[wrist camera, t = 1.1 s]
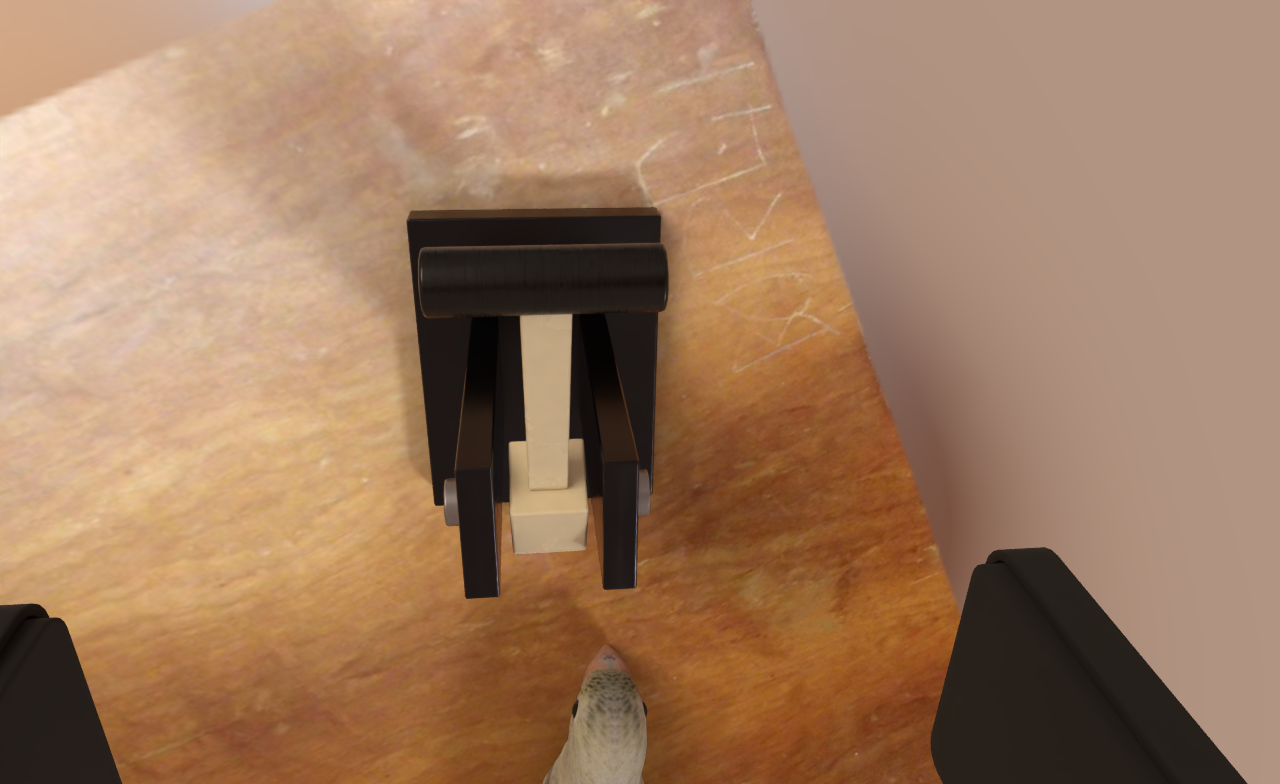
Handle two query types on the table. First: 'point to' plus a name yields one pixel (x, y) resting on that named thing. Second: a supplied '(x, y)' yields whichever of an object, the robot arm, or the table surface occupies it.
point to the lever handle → (545, 355)
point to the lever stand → (494, 394)
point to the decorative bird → (604, 728)
